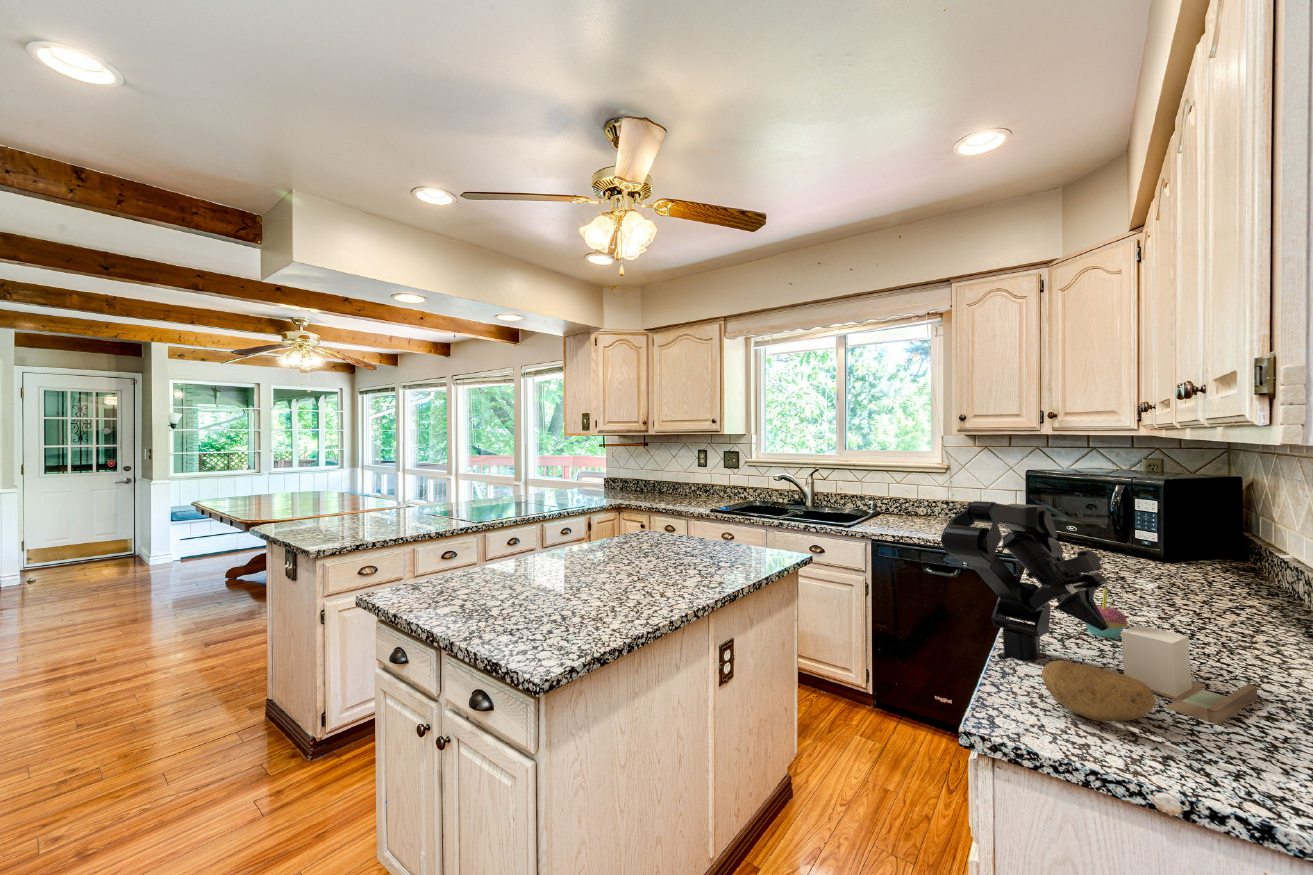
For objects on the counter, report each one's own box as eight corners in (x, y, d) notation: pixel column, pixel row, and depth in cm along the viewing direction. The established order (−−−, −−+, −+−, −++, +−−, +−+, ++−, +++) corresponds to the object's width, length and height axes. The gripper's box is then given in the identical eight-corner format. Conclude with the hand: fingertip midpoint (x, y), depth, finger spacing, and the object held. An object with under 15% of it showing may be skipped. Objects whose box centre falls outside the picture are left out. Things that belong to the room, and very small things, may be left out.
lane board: (1097, 691, 93) (1096, 674, 93) (1141, 671, 100) (1140, 655, 100) (1217, 731, 79) (1216, 711, 79) (1258, 704, 86) (1256, 686, 86)
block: (1124, 681, 94) (1121, 631, 94) (1140, 673, 97) (1137, 625, 97) (1176, 696, 88) (1172, 643, 88) (1191, 688, 90) (1188, 636, 91)
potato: (1158, 746, 76) (1154, 690, 76) (1039, 715, 86) (1036, 666, 86) (1157, 719, 83) (1153, 668, 83) (1048, 693, 93) (1045, 648, 93)
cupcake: (1138, 645, 112) (1135, 589, 113) (1093, 644, 114) (1089, 589, 114) (1112, 631, 121) (1109, 579, 121) (1070, 630, 122) (1067, 579, 123)
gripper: (1041, 542, 100) (1115, 615, 90) (1092, 532, 108) (1166, 598, 98) (1001, 575, 107) (1066, 647, 97) (1052, 564, 115) (1117, 628, 105)
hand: (1105, 629), depth 99 cm, fingers closed
